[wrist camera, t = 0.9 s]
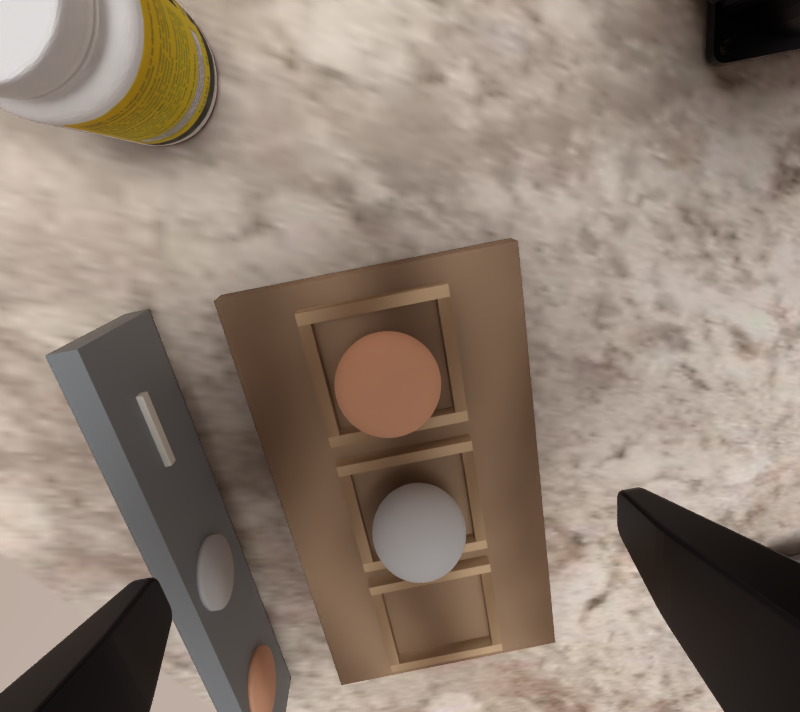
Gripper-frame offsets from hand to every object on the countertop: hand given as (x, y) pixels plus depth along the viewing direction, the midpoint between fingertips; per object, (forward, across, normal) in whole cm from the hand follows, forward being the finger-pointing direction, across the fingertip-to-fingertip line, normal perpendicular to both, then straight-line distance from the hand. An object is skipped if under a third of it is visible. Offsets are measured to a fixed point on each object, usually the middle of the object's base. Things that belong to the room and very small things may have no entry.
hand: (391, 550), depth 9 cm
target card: (+12, +9, +8) cm, 17 cm away
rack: (+12, 0, +7) cm, 14 cm away
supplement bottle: (+12, +6, -12) cm, 18 cm away
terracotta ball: (+11, 0, 0) cm, 11 cm away
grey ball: (+11, 0, +7) cm, 13 cm away
